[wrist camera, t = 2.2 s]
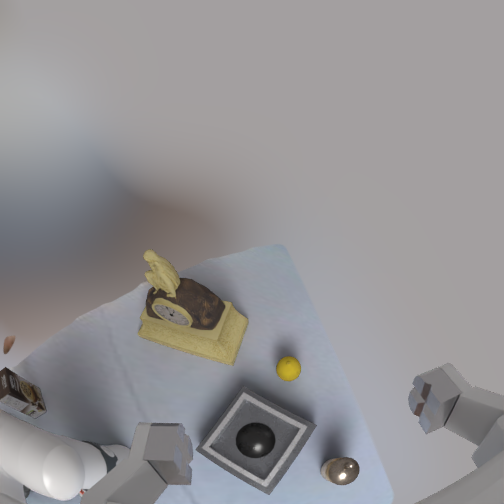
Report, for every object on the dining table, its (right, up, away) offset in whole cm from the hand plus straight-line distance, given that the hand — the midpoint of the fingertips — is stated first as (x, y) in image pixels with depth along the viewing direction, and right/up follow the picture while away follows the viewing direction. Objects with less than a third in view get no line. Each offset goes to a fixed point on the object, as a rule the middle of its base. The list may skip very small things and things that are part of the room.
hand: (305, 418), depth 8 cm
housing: (0, -36, +46) cm, 58 cm away
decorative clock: (-18, -16, +67) cm, 71 cm away
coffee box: (-67, -41, +52) cm, 94 cm away
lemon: (+7, -24, +56) cm, 61 cm away
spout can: (+16, -41, +39) cm, 59 cm away
